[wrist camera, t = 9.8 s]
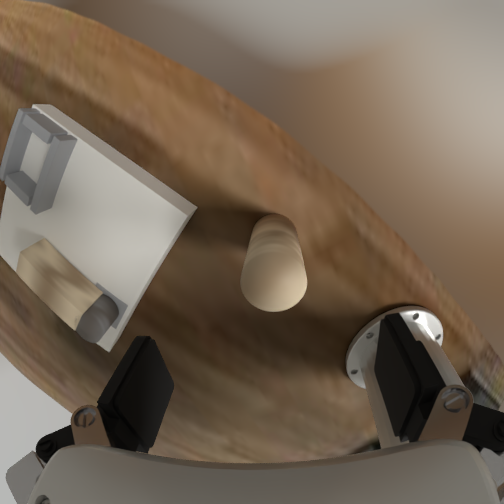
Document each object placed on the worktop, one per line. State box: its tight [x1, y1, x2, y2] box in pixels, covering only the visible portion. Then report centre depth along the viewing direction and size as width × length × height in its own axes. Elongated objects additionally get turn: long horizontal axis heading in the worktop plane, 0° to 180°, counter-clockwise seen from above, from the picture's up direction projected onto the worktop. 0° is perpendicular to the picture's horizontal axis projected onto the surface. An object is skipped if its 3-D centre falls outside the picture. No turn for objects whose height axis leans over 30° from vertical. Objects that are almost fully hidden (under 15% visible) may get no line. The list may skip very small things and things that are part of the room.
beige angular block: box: [16, 238, 119, 343], centre depth 23 cm, size 12×3×4 cm, turn 51°
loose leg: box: [240, 214, 307, 312], centre depth 21 cm, size 4×4×9 cm
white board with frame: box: [0, 104, 198, 352], centre depth 24 cm, size 21×20×6 cm
